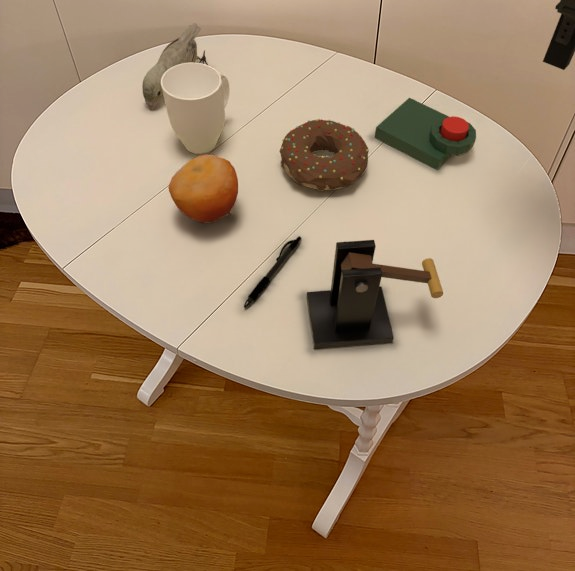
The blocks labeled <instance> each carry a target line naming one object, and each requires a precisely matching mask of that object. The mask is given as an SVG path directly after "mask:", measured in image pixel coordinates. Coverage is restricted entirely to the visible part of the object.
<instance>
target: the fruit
mask: <svg viewBox="0 0 575 571" xmlns="http://www.w3.org/2000/svg"><path fill="white" fill-rule="evenodd" d="M168 193H169V195H170V198H171V199H172V201H173V203H174V205H175V206H176V207H177V209H178V210H179V211H180V212H181V213H182V214H184V216H186V217H188V218H189V219H191V220H193V221H196V222H199V223H200V224H202V225H203V224H205V223H206V224H210V223H211V224H213V223H214V222H217V221H219V220H220V219H222V218H224V217H226V216H230V217H231V218H234V217H235V216H234V215H233V213H232V210H233V208H234V207H235V205H236V202H237V199H238V195H239V179H238V175H237V171H236V168H235V166H233V164H232V163H231V161H230V160H228V159H226V158H224V157H220V156H217V155H212V154H199V155H198V156H197V157H193V158H191V159H190V160H189V161H187V162H186V163H184V165H182V167H180V168H179V169H178V170H177V171H176V172H175V173H174V175H172V177H171V179H170V181H169V184H168Z"/></svg>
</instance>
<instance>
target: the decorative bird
mask: <svg viewBox="0 0 575 571" xmlns="http://www.w3.org/2000/svg"><path fill="white" fill-rule="evenodd" d="M201 30H202V28H201V27H200V26H198V23H192V24H190V25H188V27H187V28H186V29H185V30H184V31H183V32H182V33H181V35H180V36H179V37H177V38H176V39H174V40H172V41H171V42H170V43H168V44H167V45H166V46H165V48H164V49H163V51H161V54H160V55H159V57H158V60H157V62H156V63H155V65H153V66H152V67H151V68H150V69H149V70H148V71H147V72H146V74H145V75H144V77H143V80H142V84H141V85H142V86H141V87H142V88H141V89H142V95H143V98H144V101H145V104H146V106H147V107H148V108H149V109H150V110H153V109H154V107H155V106H156V105H157V104H158V102H159V100H160V99H161V97H162V96H164V95H163V91H162V87H161V78H162V76H163V74H164V73H165V72H166V71H167V70H168V69H170V68H171V67H173V66H176V65H178V64H182V63H191V62H194V63H197V62H196V61H198V60H199V61H198V63H202V64H206V65H209V64H208V62H207V57H206V49H204V50H203V54H202V56H201V57H200V56H198V45H197V42H196V40H195V39H196V38H197V37H198V35H199V33H200V32H201Z"/></svg>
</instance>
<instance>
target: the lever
mask: <svg viewBox="0 0 575 571" xmlns="http://www.w3.org/2000/svg"><path fill="white" fill-rule="evenodd" d="M378 267H381V271H382V277H381V278H384V279H393V280H399V281H406V282H414V283H422V284H427V287H428V290H429V294H430V297H431V298H432V299H439V298H441V297H443V296H444V291H443V286H442V284H441V280H440V276H439V274H438V271H437V267H436V265H435V261H434V259H433V258H430V257H429V258H425V259H423V260H422V261H421V267H422V269H423V270H419V269H414V268H407V267H402V266H401V267H400V266H392V265H386V264H379V263H374V262H372V259H371V256H370V255H364V254H357V253H350V252H349V253H348V255H347V256H346V258H345V259H344V261H343V262H342V264H341V268H342V270H351V269H365V268H378Z"/></svg>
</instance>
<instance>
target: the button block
mask: <svg viewBox="0 0 575 571" xmlns="http://www.w3.org/2000/svg"><path fill="white" fill-rule="evenodd" d="M448 117H450V116H449V115H447V114H445V113H443V112H441V111H439V110H437V109H435V108H433V107H430V106H428V105H426V104H424V103H421V102H420V101H418V100H415V99H413V98H411V97H408V98H406V100H405V101H404V102H403V103H401V105H399V106H398V107H397V108H396V109H394V110H393V112H391V113H389V115H388V116H387V117H385V118H384V119H383V120H382V121H381V122H380V123H379V124H378V125H377V126H375V131H374V137H373V138H374V139H376V140H378V141H381V142H382V143H383V144H386V145H387V146H389V147H391V148H394V149H395V150H397V151H400V152H401V153H403V154H405V155H407V156H409V157H411V158H413V159H414V160H416V161H418V162H421V163H423V164H424V165H427V167H430V168H432V169H434V170H436V171H438V170H439V169H440V168H441V167H442V166H443V165H444V164H445V163H446V162H447V161H448V160H449V159H450V158H451V157H452V156H461V155H464V154H468V153H470V151H471V150H472V149H473V148H474V145H475V143H476V141H477V129H476V128H475V127H474V126H473V125H472V124H471V122H469V121H467V123H468V125H469V128H468V132H467V135H466V137H465V139H464V140H462V141H458V142H457V141H450V140H448V139H445V138H443V137H442V135H441V132H440V131H441V127H442V124H443V121H444V120H445V119H446V118H448Z"/></svg>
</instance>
